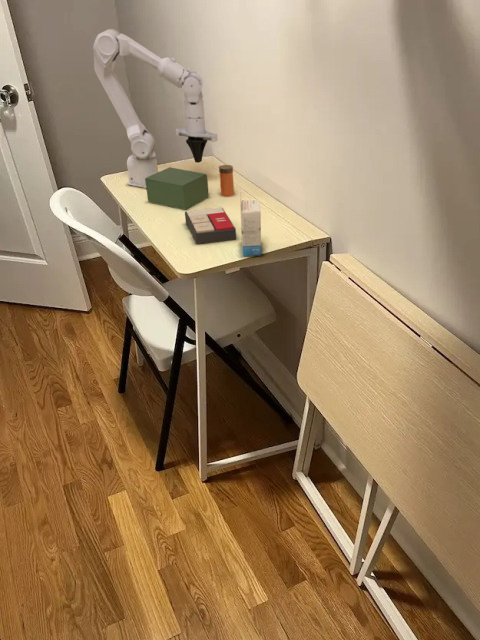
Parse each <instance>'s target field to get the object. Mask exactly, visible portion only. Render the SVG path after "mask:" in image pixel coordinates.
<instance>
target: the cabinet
mask: <svg viewBox="0 0 480 640" xmlns="http://www.w3.org/2000/svg"><path fill="white" fill-rule="evenodd" d="M207 180H208V175H207V173H204V172H198V171H193V170H188V169H182V168H176V167H171V166H170V167H167V168H165V169H163V170H160V171H158V173H156V174H153V175H151V176H149V177H147V178H145V182H146V188H145V190H146V196H147V202H148V203H150V204H155V205H158V206H159V205H160V206H164V207H168V208H174V209H179V210H184V211H188V209H191V208H192V207H194V206H196V205H198V204H200V203H201V202H203V201H205V200H207V199H208V198H209V187H208V188H207Z"/></svg>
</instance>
